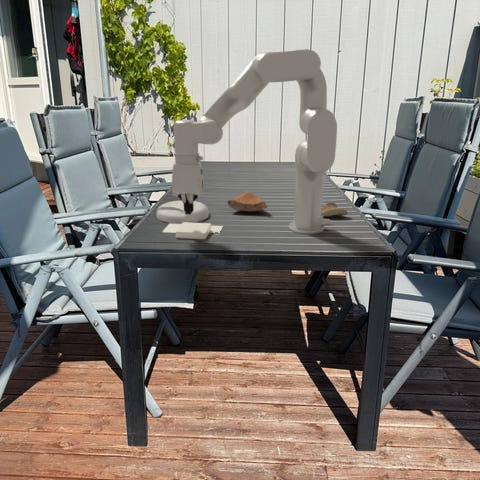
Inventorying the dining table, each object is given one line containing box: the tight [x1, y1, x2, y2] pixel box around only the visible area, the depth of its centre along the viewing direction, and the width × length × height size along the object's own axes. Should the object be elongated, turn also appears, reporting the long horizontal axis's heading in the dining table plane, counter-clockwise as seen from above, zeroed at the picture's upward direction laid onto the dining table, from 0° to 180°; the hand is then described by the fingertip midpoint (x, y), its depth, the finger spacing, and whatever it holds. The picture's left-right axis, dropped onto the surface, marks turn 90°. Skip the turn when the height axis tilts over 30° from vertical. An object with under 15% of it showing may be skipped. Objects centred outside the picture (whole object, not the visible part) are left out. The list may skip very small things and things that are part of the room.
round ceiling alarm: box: [156, 199, 210, 224], centre depth 179 cm, size 25×25×6 cm
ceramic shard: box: [227, 190, 268, 212], centre depth 187 cm, size 15×6×15 cm
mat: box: [162, 223, 224, 234], centre depth 158 cm, size 20×20×1 cm
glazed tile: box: [175, 222, 212, 240], centre depth 157 cm, size 2×10×10 cm
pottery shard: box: [321, 202, 349, 217], centre depth 181 cm, size 11×4×10 cm
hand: (188, 213), depth 155 cm, fingers closed
